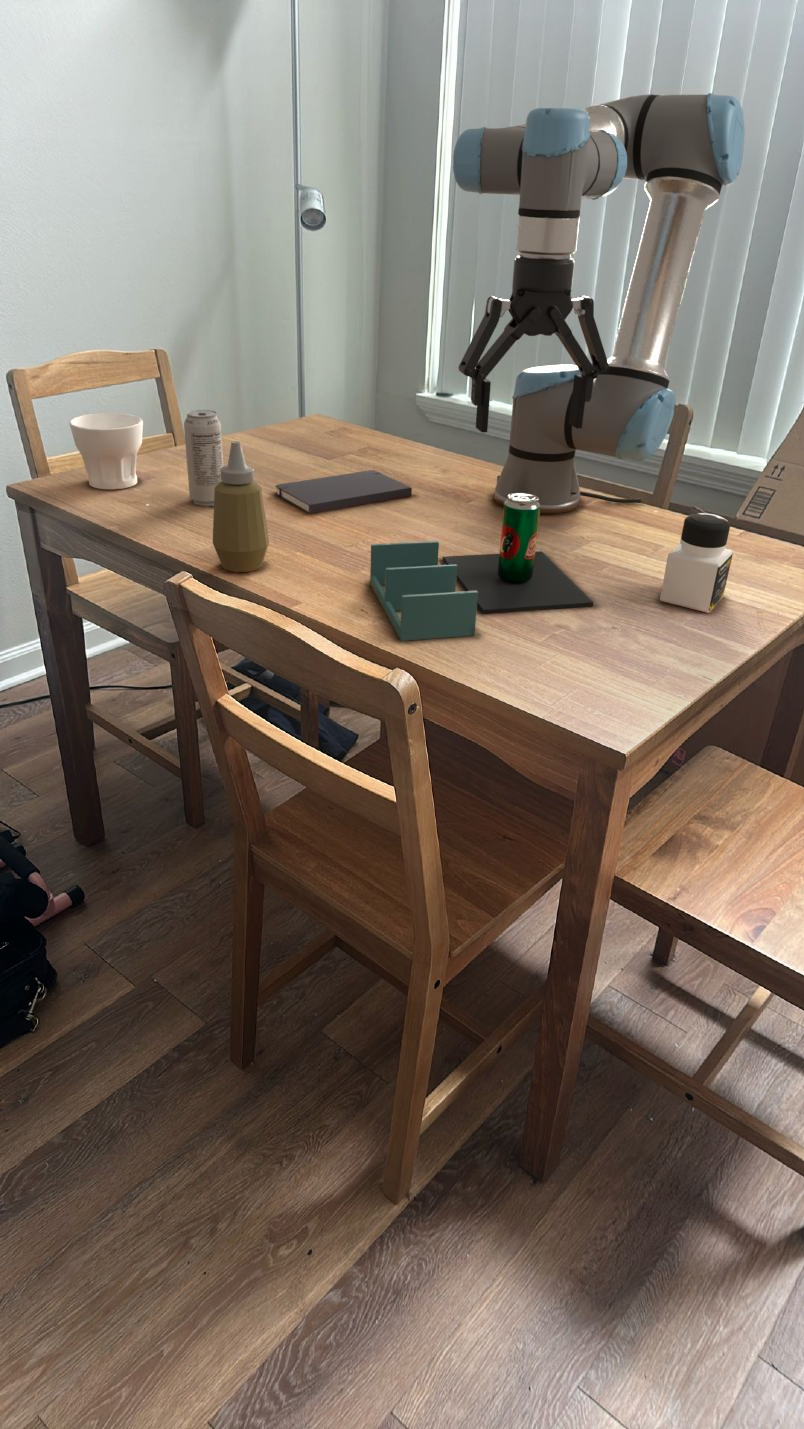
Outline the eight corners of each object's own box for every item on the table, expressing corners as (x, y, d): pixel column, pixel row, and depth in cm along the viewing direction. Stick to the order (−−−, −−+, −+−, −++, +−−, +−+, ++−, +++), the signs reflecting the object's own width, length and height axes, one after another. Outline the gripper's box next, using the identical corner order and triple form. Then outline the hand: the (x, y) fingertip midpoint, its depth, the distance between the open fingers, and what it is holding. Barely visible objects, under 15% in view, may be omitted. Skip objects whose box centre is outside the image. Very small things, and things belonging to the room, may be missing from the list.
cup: (163, 481, 173) (157, 419, 168) (111, 497, 164) (103, 433, 159) (115, 469, 179) (108, 409, 173) (62, 484, 170) (53, 421, 164)
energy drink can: (222, 495, 168) (217, 408, 160) (228, 505, 163) (222, 416, 155) (187, 497, 166) (180, 409, 158) (192, 508, 161) (185, 418, 153)
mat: (541, 554, 147) (541, 551, 147) (593, 606, 131) (593, 602, 130) (442, 560, 144) (442, 556, 144) (482, 613, 127) (483, 609, 127)
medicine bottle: (709, 614, 130) (727, 529, 124) (658, 601, 133) (674, 518, 127) (723, 597, 135) (741, 515, 129) (674, 585, 138) (690, 505, 132)
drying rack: (435, 580, 137) (438, 540, 134) (474, 635, 121) (478, 592, 118) (370, 584, 135) (370, 543, 132) (401, 641, 119) (402, 597, 116)
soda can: (530, 586, 134) (539, 504, 128) (495, 582, 135) (502, 500, 129) (533, 573, 139) (542, 493, 133) (499, 570, 139) (506, 490, 133)
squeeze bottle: (224, 579, 134) (216, 452, 125) (206, 560, 140) (198, 437, 131) (278, 571, 138) (274, 447, 129) (258, 553, 144) (253, 433, 135)
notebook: (309, 513, 160) (411, 495, 171) (308, 504, 160) (412, 487, 170) (273, 493, 169) (373, 477, 180) (273, 484, 169) (373, 469, 179)
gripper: (623, 252, 124) (601, 417, 135) (440, 251, 118) (433, 424, 129) (650, 258, 117) (625, 431, 128) (458, 258, 112) (448, 439, 123)
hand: (528, 428), depth 129 cm, fingers open, 13 cm apart
